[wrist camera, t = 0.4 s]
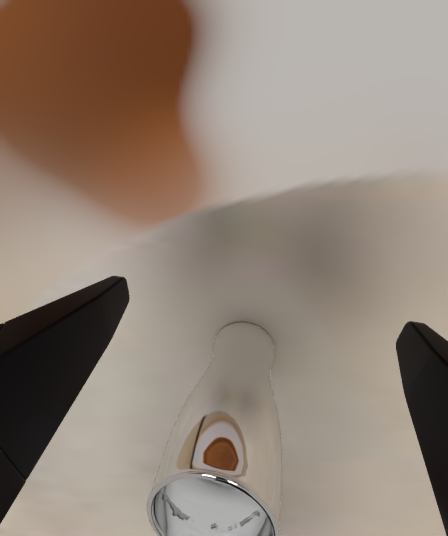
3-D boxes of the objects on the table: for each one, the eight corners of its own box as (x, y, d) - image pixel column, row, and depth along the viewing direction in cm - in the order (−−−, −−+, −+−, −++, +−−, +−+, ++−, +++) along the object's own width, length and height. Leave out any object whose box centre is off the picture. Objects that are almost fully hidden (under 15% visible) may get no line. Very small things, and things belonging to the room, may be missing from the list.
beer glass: (267, 309, 26) (258, 463, 12) (288, 373, 28) (301, 575, 13) (199, 326, 28) (120, 476, 14) (222, 384, 29) (172, 574, 15)
